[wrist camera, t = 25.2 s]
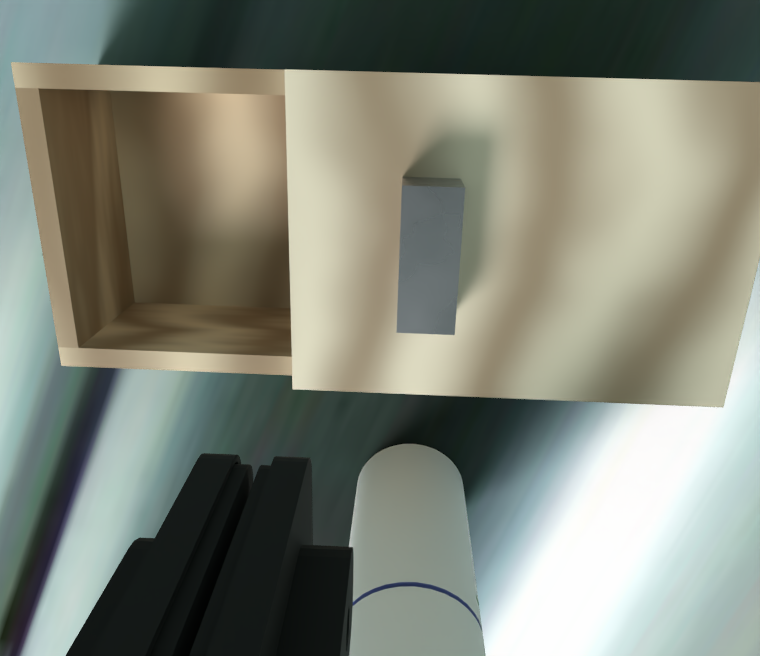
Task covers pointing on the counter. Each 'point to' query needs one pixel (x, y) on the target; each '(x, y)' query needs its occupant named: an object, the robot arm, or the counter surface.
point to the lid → (520, 234)
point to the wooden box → (162, 214)
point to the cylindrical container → (413, 558)
